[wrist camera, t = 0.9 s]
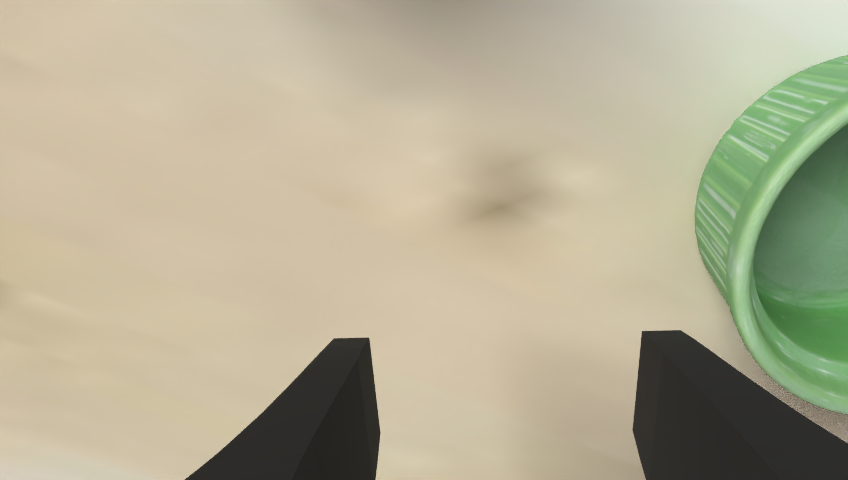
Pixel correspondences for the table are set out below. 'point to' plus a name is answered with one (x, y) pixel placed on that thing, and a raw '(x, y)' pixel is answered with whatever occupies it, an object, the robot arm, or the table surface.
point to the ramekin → (786, 231)
